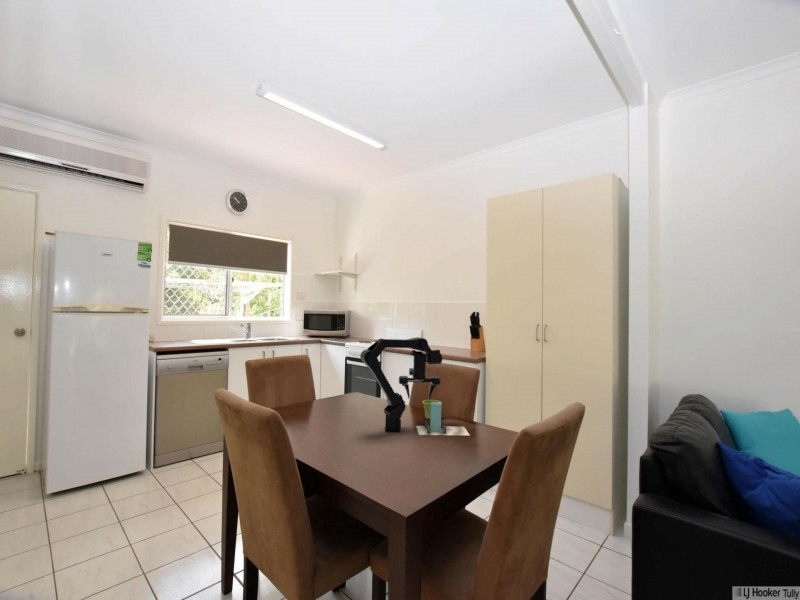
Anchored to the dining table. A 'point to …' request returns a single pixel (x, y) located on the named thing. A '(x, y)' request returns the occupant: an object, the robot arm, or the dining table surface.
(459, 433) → the peg board
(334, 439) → the dining table surface
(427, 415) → the plant pot
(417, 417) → the dining table surface
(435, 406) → the teal post
